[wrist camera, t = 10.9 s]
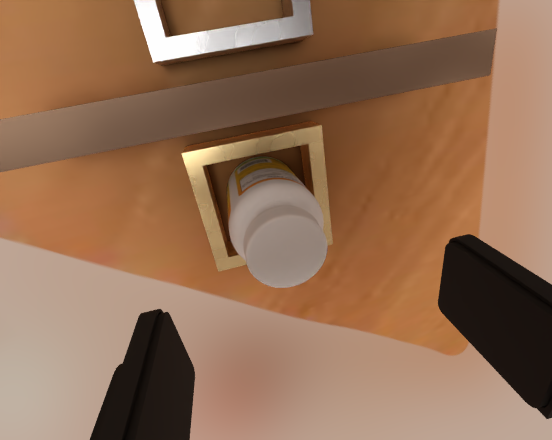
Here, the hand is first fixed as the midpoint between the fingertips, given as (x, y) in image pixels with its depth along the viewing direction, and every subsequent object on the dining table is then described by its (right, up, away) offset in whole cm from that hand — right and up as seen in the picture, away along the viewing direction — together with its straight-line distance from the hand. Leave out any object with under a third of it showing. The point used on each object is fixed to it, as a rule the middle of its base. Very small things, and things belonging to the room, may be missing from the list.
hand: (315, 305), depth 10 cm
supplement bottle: (-2, +5, +13) cm, 14 cm away
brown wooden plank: (-4, +11, +10) cm, 15 cm away
